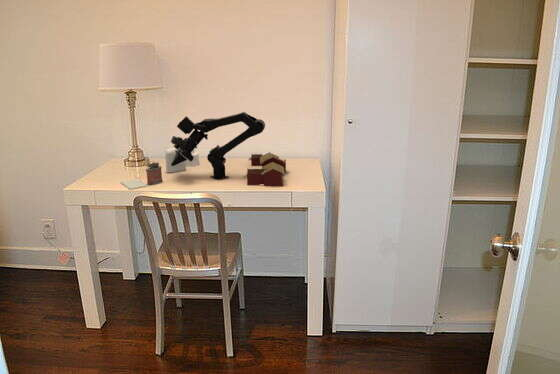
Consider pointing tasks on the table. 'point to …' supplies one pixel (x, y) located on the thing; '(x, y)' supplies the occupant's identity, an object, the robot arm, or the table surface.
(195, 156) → the base with upright slab
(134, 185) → the mat
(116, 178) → the table surface
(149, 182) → the lighter
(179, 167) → the photo printer
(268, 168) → the toy houses
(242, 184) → the table surface
